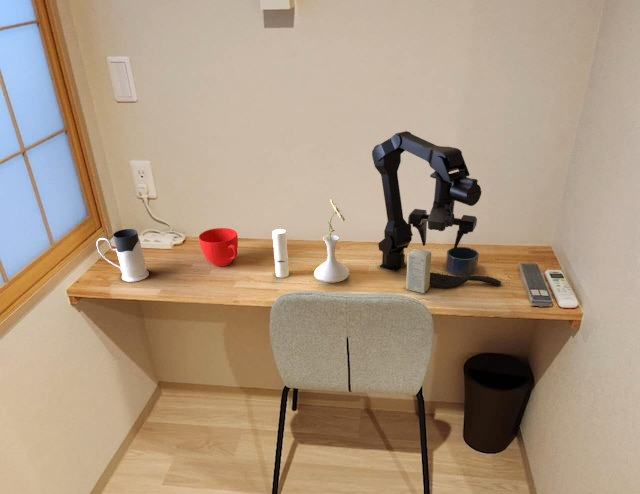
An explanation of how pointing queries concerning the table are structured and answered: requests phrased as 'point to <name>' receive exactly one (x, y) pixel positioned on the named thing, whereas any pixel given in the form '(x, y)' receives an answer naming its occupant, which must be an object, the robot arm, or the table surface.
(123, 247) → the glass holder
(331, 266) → the flower in vase
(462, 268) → the crock
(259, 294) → the table surface
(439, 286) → the hairbrush
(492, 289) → the table surface
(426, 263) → the cosmetic box
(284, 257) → the tube
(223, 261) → the ceramic cup
